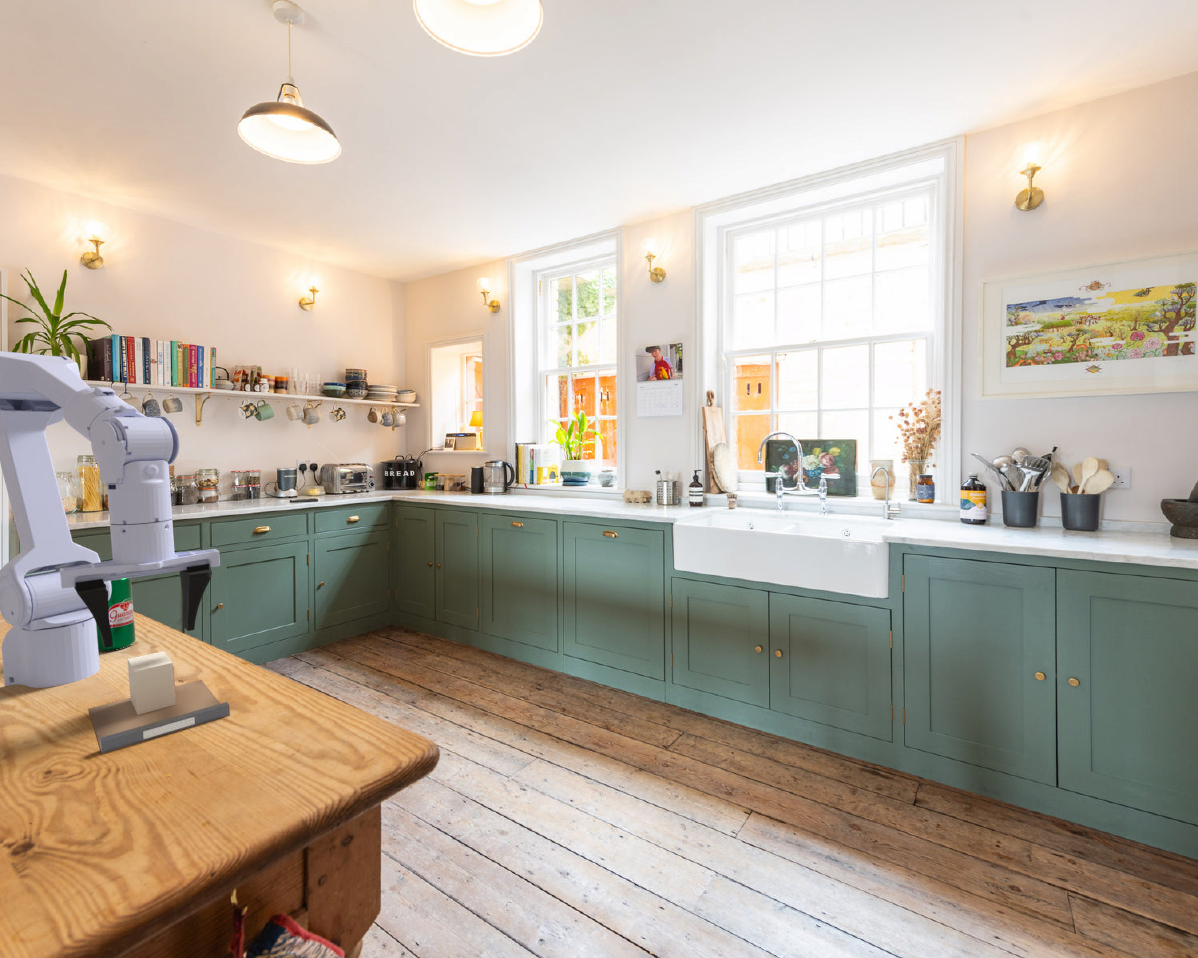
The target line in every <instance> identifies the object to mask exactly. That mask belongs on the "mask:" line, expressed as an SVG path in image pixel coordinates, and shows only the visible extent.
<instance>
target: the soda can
mask: <svg viewBox="0 0 1198 958" xmlns="http://www.w3.org/2000/svg"><path fill="white" fill-rule="evenodd" d="M126 573H128V572H126ZM111 587H112V592H111V597H110V599H109V601H108V606H109V621H110V627H111V632H112V638H113V647H108V648H104V646H103V643H102V638H101V634H100V631H99V628H98V626H97V623H96V628H97V641H98V652H103V651H107V652H113V651H112V650H115V651H117V650H116V649H120V648H123V647H126V648H128V647H127V646H129V645H131V644H132V645H133V644H134V643H135V642H136V628H135V625H136V624H135V613H134V601H133V587H132V578H125V579H118V580H111ZM132 645H131V646H132ZM129 647H130V646H129ZM123 649H124V648H123ZM120 650H121V649H120Z"/></svg>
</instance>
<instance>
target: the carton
mask: <svg viewBox="0 0 1198 958" xmlns="http://www.w3.org/2000/svg"><path fill="white" fill-rule="evenodd" d="M127 667H128V668H127V669H128V682H129V694H130V698H131V702H132V704H133V706H134V708H135V710H136V712H137V714H138V715H139V714H143V713H147V712H150V711H154V710H158V709H161V708H165V707H169V706H172V705H176V704H175V697H176V694H175V686H176V685H175V684H176V681H175V668H174V667H175V666H174V665H173V662H172V660H171V659H170V657H169V656H168V654H167V653H166V652H165V651H163V650H162V651H158V652H154V653H153V652H152V653H148V654H144V655H141V656H140V655H139V656H136V657H135V656H134V657H131V658H127Z"/></svg>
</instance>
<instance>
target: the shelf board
mask: <svg viewBox="0 0 1198 958" xmlns="http://www.w3.org/2000/svg"><path fill="white" fill-rule="evenodd" d="M175 694H176V697H175V704H176V705H172V706H169V707H165V708H161V709H158V710H154V711H150V712H147V713H143V714H139V715H138V714H137V712H136V710H135V708H134V706H133V704H132V702H131V697H130V698H129V697H128V698H126V699H125V698H124V699H122V700H117V701H114V702H113V701H112V702H108V703H106V704H102V705H98V706H94V707H90V708H88V711H89V715H90V718H91V721H92V724H93V729H94V733H95V734H96V739H97V742H98V745H99V749H100V750H101V746H100V738H102V737H105V736H109V735H112V734H116V733H119V732H123V731H126V730H130V729H133V728H137V727H140V726H144V725H147V724H151V723H154V722H158V721H161V720H165V719H168V718H172V717H175V716H179V715H182V714H186V713H190V712H193V711H197V710H200V709H204V708H207V707H211V706H214V705H218V704H221V703H222V702H220V700H218V698H217V697H216V696H215V694H214V693H213V692H212V691H211V689H209V687H207V685H206V684H205V682H204V681H203V680H202V679H200V680H199V679H198V680H196V681H192V682H191V681H190V682H187V683H183V684H179V685H175ZM229 716H231V714H230V715H228V716H225V717H222V718H218V719H215V720H212V721H208V722H205V723H202V724H198V725H195V726H192V727H188V728H185V729H182V730H178V731H175V732H179V731H183V730H186V729H189V728H193V727H196V726H200V725H203V724H206V723H209V722H213V721H216V720H219V719H223V718H226V717H229ZM175 732H172V733H168V734H165V735H169V734H173V733H175ZM165 735H161V736H158V737H155V738H151V739H148V740H145V741H141V742H138V743H135V744H131V745H128V746H125V747H121V748H118V749H119V750H120V749H123V748H126V747H129V746H132V745H136V744H139V743H144V742H146V741H151V740H152V739H156V738H159V737H163V736H165ZM118 749H115V750H111V751H108V752H105V753H102V752H101V754H106V753H109V752H113V751H116V750H118Z"/></svg>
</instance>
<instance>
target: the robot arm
mask: <svg viewBox="0 0 1198 958" xmlns="http://www.w3.org/2000/svg"><path fill="white" fill-rule="evenodd" d="M79 368H80V367H79V365H78V363H77V362H76V361H74V360H73V358H71V357H69V356H67V355H45V354H37V353H36V354H35V353H24V352H23V353H22V352H14V351H13V352H12V351H1V350H0V467H1V470H2V474H3V475H2V476H3V478H4V484H5V487H6V492H7V495H8V499H9V503H10V506H11V513H12V515H13V520H14V524H15V528H16V532H17V535H18V539H19V544H20V548H21V552H20V553H18V554H17V555H16V556H15V557H12V559H10V560H9V561H8V562H7V563H6V564H4V566H2V568H1V569H0V615H1V616H2V619H4V621H5V622H6V623H7V624H10V625H11V626H12V627H11V628H10V629H9V630H8V631H7V632H6V634H5V635H4V637H3V639H2V640H3V641H2V643H1V656H2V659H1V660H2V667H3V677H4V678H3V679H4V687H8V686H13V685H21V686H27V687H29V688H35V689H36V688H37V689H38V688H39V689H40V688H41V689H42V688H51V687H58V686H62V685H68V684H71V683H75V682H78V681H82V680H85V679H87V678H89V677H92V676H94V675H95V674H97V673H98V672H100V669H101V668H100V667H101V666H100V655H99V651H98V641H97V628H96V623H97V626H98V628H99V631H100V634H101V638H102V643H103V646H104V648H108V647H113V638H112V632H111V627H110V621H109V606H108V601H109V599H110V597H111V592H112V587H111V580H118V579H125V578H131V579H132V578H138V577H144V576H152V575H153V576H154V575H157V574H158V575H160V574H166V573H173V572H179V578H180V583H181V591H182V600H183V601H182V602H183V603H182V604H183V605H182V622H183V628H184V629H185V630H186V631H187V632H190V631H194V630H195V629H196V628H195V627H196V620H197V615H198V611H199V607H200V604H201V601H202V598H203V596H204V594H205V591H206V588H207V587H208V585H209V583H210V582H211V579H212V575H213V570H212V569H211V568H215V567H220V566H221V559H220V558H221V557H220V550H218V549H216V548H211V549H203V550H191V551H179V552H175V541H174V540H175V539H174V525H173V522H174V521H173V510H172V508H173V507H172V495H171V481H170V480H171V479H170V478H171V477H170V465H171V464H173V463H174V462H175V461H176V459H177V458H178V454H179V450H180V437H179V433H178V430H177V428H176V427H175V424H174V423H173V422H172V421H171V420H170V419H169V418H168V417H167V416H165V415H155V416H146V415H144V414H143V413H142V412H140V411H139V410H138V409H137V408H136V407H135V406H133V405H131V404H129V403H127V402H126V401H125V400H123V399H122V398H121V397H119V396H118V395H116V391H115V390H114V389H112V388H111V387H108V386H104V387H103V386H95V387H90V386H89V384H88V383H86V382H85V381H84V380H83V379H82V377H81V372H80V369H79ZM63 420H65V421H66V423H67V425H69V426H70V427H71V428H72V429H73V430H75V431H76V432H78V433H79V434H80V435H81V436H82V437H84V438H85V439H86V440H88V441H89V442H90V445H91V450H92V454H93V457H94V459H95V461H96V462H97V465H98V470H99V478H100V479H101V482H102V483H103V484H106V488H107V489H106V490H107V502H108V503H107V504H108V512H109V513H108V514H109V515H108V518H109V530H110V531H109V532H110V540H111V541H110V542H111V557H112V560H106V561H101V558H100V556H99V553H97V552H96V551H94V550H92V549H90V548H87V547H85V546H82V545H80V544H78V543H76V542H73V539H72V534H71V531H70V526H69V522H68V519H67V515H66V510H65V507H64V503H63V499H62V496H61V491H60V488H59V483H58V479H57V475H56V471H55V467H54V464H53V459H52V456H51V452H50V447H49V444H48V439H47V436H46V435H47V434H46V432H45V431H46V429H47V427H48V426H52V425H54V424H57V423H60V422H61V421H63ZM126 572H127V573H126Z"/></svg>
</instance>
